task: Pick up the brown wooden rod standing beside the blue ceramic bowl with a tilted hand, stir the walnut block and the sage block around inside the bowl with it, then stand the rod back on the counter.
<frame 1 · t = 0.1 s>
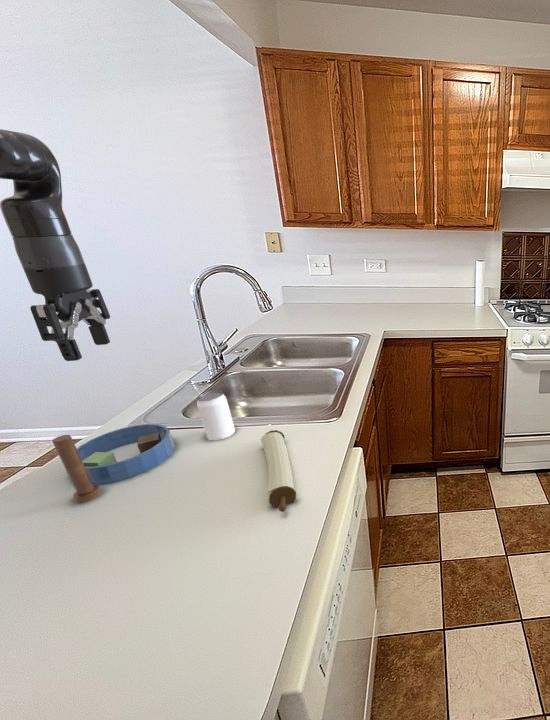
hand: (89, 351, 74), 32 cm above the table, tool pointing down, fingers open, 8 cm apart
brown wooden rod: (89, 498, 83), on the table
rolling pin: (279, 474, 91), on the table
block sage: (102, 471, 91), point 1 cm above the table, touching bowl
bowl: (128, 461, 95), on the table
can: (221, 436, 106), on the table
block walnut: (153, 451, 98), point 1 cm above the table, touching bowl
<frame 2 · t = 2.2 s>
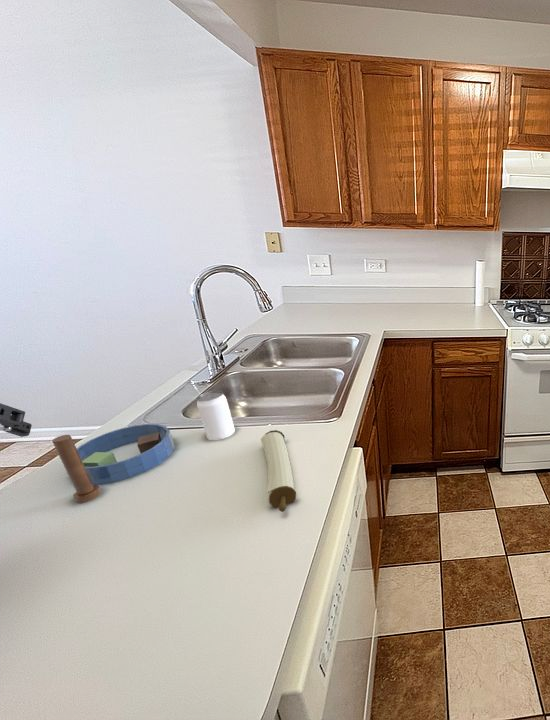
nothing on the table moved.
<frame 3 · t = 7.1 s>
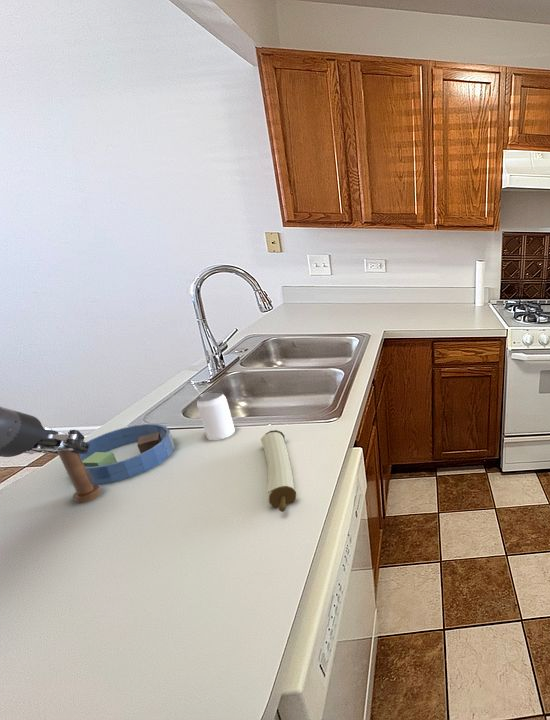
hand: (77, 449, 81), 11 cm above the table, tool tilted 45°, fingers closed on brown wooden rod, 2 cm apart
brown wooden rod: (89, 498, 83), on the table, touching gripper
everything else where it was.
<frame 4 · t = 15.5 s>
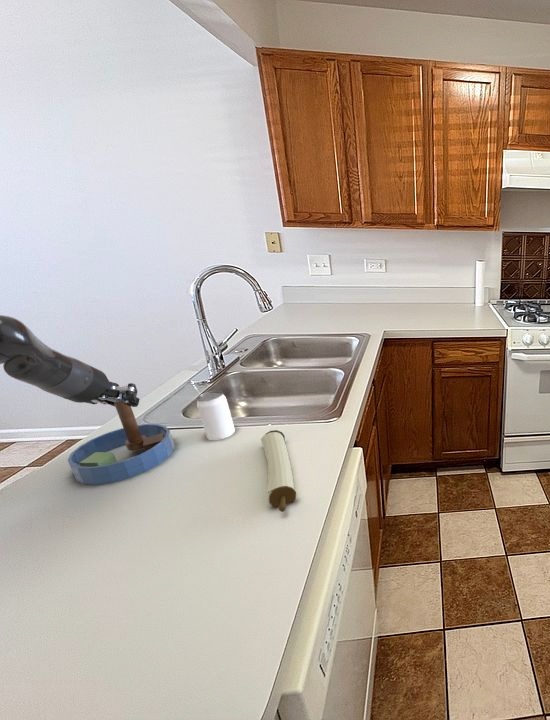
hand: (128, 403, 95), 13 cm above the table, tool tilted 45°, fingers closed on brown wooden rod, 2 cm apart
brown wooden rod: (138, 446, 97), point 2 cm above the table, touching block walnut, gripper
block walnut: (158, 452, 98), point 1 cm above the table, touching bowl, brown wooden rod
everything else where it was.
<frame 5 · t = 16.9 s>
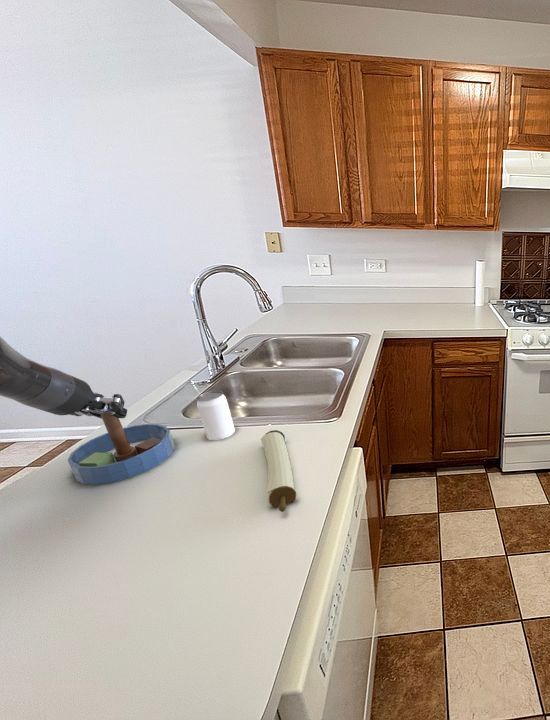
hand: (116, 414, 90), 13 cm above the table, tool tilted 45°, fingers closed on brown wooden rod, 2 cm apart
brown wooden rod: (127, 458, 93), point 2 cm above the table, touching block walnut, gripper
block walnut: (154, 456, 96), point 1 cm above the table, touching brown wooden rod
everything else where it was.
when the fingers open (11 cm above the table, at t = 26.2 s): brown wooden rod stays where it is, on the table.
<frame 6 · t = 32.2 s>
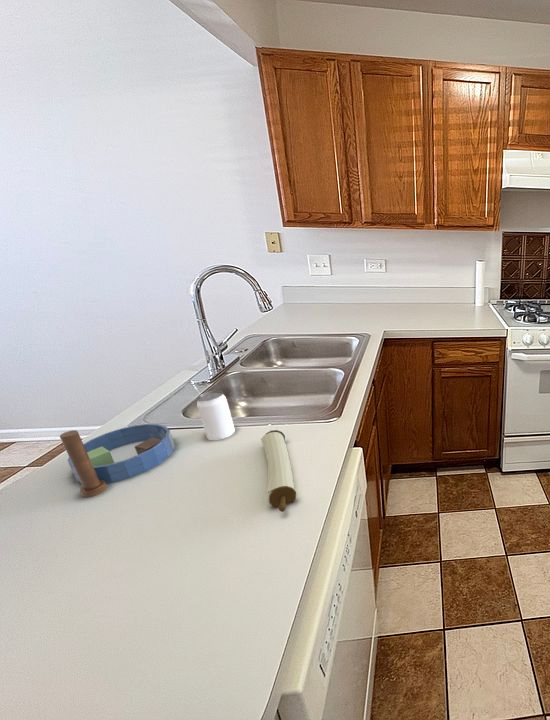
brown wooden rod: (95, 493, 85), on the table
block sage: (101, 467, 92), point 1 cm above the table, touching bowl
block walnut: (154, 457, 96), point 1 cm above the table, touching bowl
everything else where it was.
at the end: block walnut moved 2.8 cm from its start; block walnut inside the target area in the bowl (5.7 cm from its centre), point 0.6 cm above the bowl's base; block sage inside the target area in the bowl (4.8 cm from its centre), point 0.6 cm above the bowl's base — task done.
